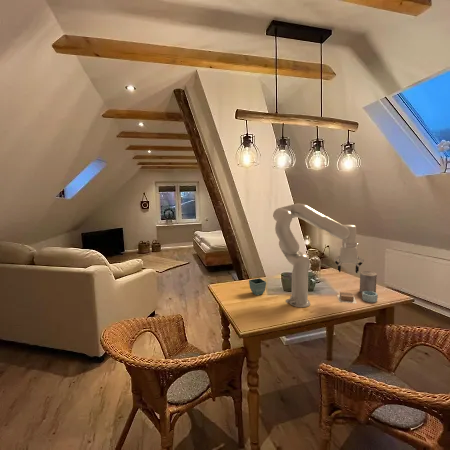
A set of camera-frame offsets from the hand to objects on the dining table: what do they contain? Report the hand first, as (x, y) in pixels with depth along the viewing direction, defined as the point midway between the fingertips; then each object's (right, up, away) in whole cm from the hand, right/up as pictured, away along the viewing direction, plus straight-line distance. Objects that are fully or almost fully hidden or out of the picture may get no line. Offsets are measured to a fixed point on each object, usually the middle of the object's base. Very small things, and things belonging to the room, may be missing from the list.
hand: (347, 272), depth 174 cm
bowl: (+14, -18, +1) cm, 22 cm away
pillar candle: (+18, -16, +12) cm, 27 cm away
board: (0, -17, +2) cm, 17 cm away
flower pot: (-54, -17, +15) cm, 59 cm away
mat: (0, -18, +2) cm, 18 cm away
